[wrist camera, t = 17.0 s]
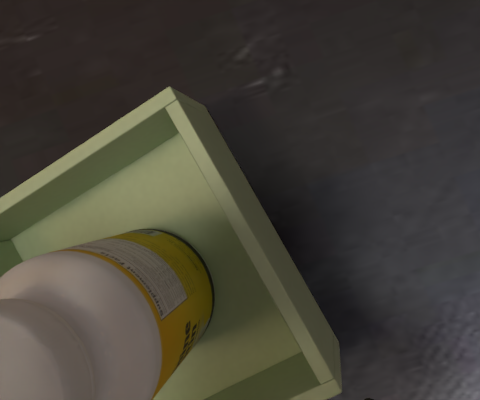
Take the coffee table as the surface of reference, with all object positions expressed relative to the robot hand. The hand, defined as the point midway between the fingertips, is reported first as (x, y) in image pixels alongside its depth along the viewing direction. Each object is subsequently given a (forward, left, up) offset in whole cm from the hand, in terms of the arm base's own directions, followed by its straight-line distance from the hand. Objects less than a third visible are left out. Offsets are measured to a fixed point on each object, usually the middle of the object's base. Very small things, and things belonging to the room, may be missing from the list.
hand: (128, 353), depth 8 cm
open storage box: (+1, +5, -14) cm, 15 cm away
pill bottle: (0, +5, -13) cm, 15 cm away
